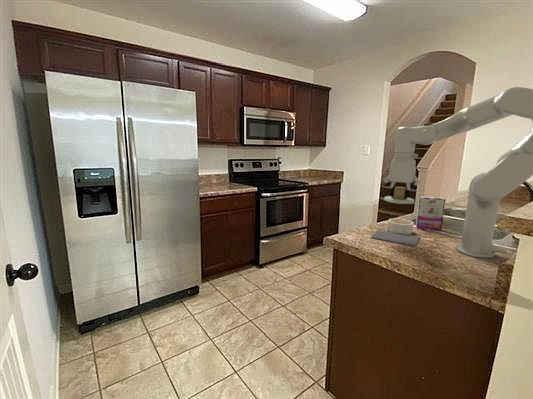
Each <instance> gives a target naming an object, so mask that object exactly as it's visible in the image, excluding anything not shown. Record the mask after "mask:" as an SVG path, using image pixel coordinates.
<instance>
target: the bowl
mask: <svg viewBox="0 0 533 399" xmlns="http://www.w3.org/2000/svg"><path fill="white" fill-rule="evenodd" d="M414 224H415V222H414V221H412V220H410V219H405V218H389V219H388V222H387V231H388V232H394V233H400V234H405V235H412V234H413V231H414Z"/></svg>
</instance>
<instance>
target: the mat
mask: <svg viewBox="0 0 533 399" xmlns="http://www.w3.org/2000/svg"><path fill="white" fill-rule="evenodd" d="M371 239H373V240H379V241H383V242H384V241H385V242H389V243H394V244H398V245H404V246H410V247H414V248H416V247H417V246H418V245H417V244H418V242H419V240H418V239H420V236H417V235H416V236H415V235H412V234H409V235H405V234H400V233H394V232H390V231H388V230H380V229H377V230H376V231H375V232H374V233H373V234H372V236H371Z"/></svg>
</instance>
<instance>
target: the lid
mask: <svg viewBox="0 0 533 399" xmlns="http://www.w3.org/2000/svg"><path fill="white" fill-rule="evenodd" d="M406 190H407V187H406V186H394V193H393V197H391V195H390V196H389V195H387V196H384V198H383V200H384V201H385V202H388V203H393V204H400V205H402V204H403V205H409V204H410V205H412V204H414V203H415V199H414V198H411V197H408V198H407V199H405V193H406Z"/></svg>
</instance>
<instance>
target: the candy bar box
mask: <svg viewBox="0 0 533 399" xmlns="http://www.w3.org/2000/svg"><path fill="white" fill-rule="evenodd" d="M445 204H446V198H444V197H443V196H442V197H441V196H428V195H427V196H425V195H424V196H423V195H418V200H417V210H416V219H415V227H416V229H419V228H420V230H429V229H430V231H431V230H432V231H440V232H441V231H442V228H443V220H444V213H445Z"/></svg>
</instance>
